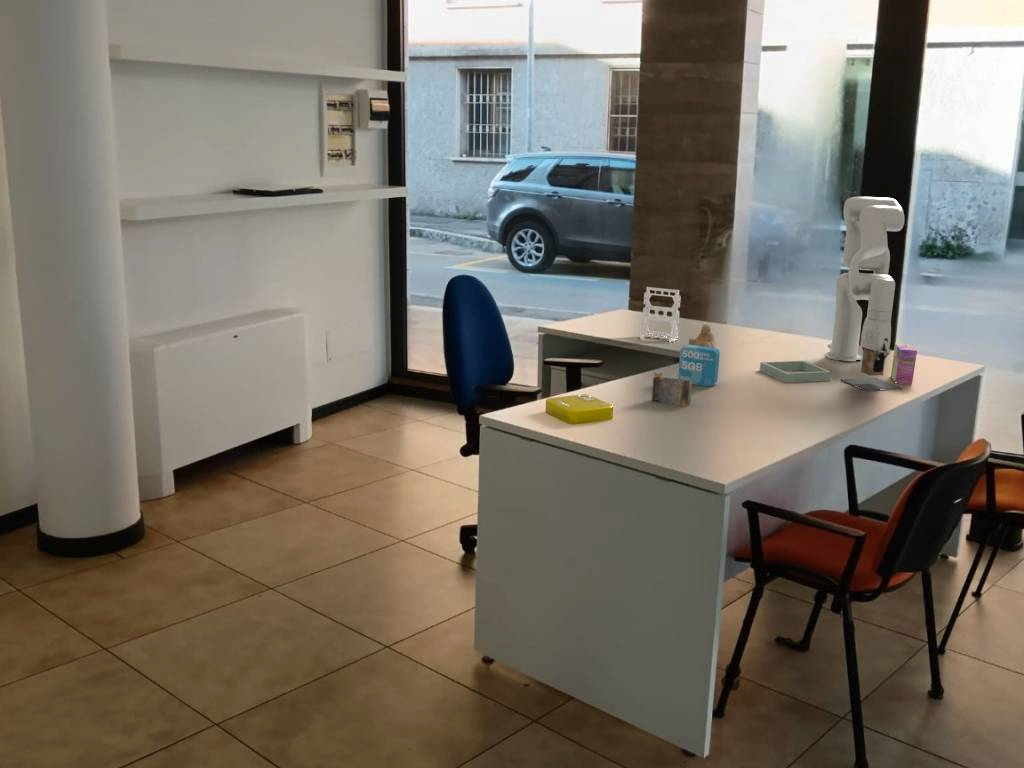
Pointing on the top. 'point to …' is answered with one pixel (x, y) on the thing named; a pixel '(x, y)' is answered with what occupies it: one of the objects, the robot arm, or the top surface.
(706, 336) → the statue
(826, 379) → the green square frame
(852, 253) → the robot arm
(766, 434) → the top surface
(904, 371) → the box
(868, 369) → the block
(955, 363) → the top surface
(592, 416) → the element tile
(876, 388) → the mat
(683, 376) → the data package
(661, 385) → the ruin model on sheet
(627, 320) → the top surface
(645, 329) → the film strip holder
